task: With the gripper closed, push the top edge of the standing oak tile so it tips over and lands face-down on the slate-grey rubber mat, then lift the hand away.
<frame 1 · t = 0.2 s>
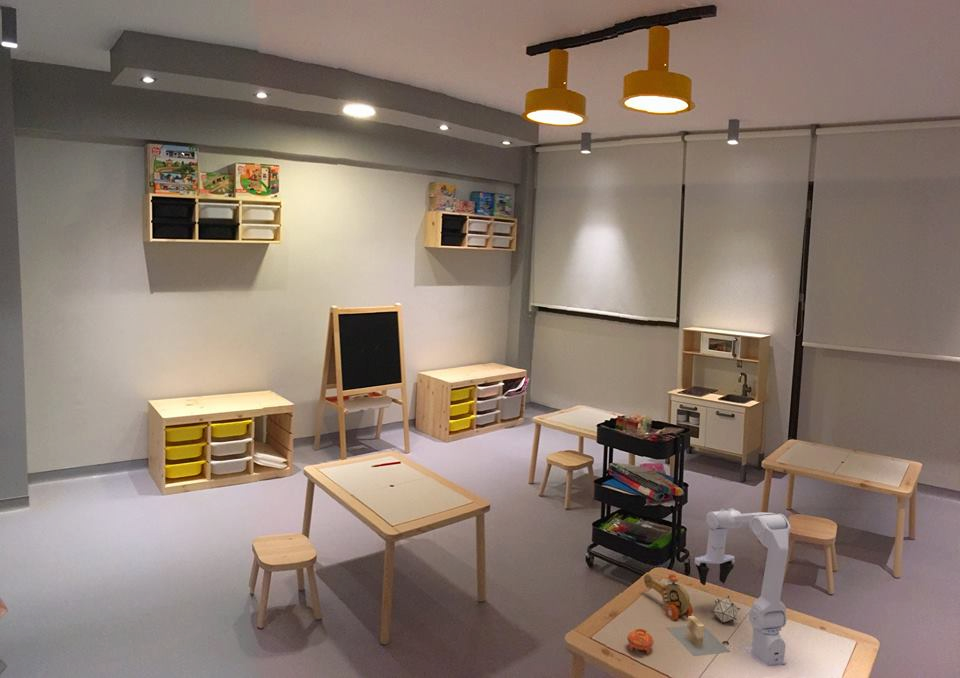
hand: (712, 582, 240), 10 cm above the table, tool pointing down, fingers open, 7 cm apart
rubber mat: (697, 640, 221), on the table
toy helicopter: (666, 609, 240), on the table
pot: (639, 650, 215), on the table
oak tile: (694, 641, 220), resting on rubber mat
game die: (724, 621, 234), on the table
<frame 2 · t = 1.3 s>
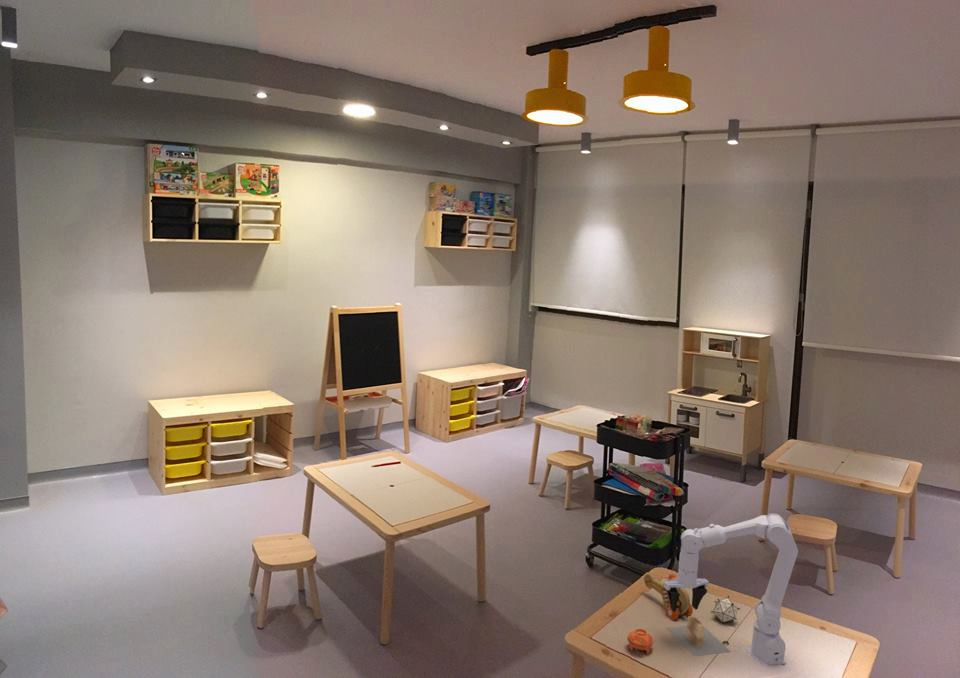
hand: (683, 608, 220), 10 cm above the table, tool pointing down, fingers open, 7 cm apart
nothing on the table moved.
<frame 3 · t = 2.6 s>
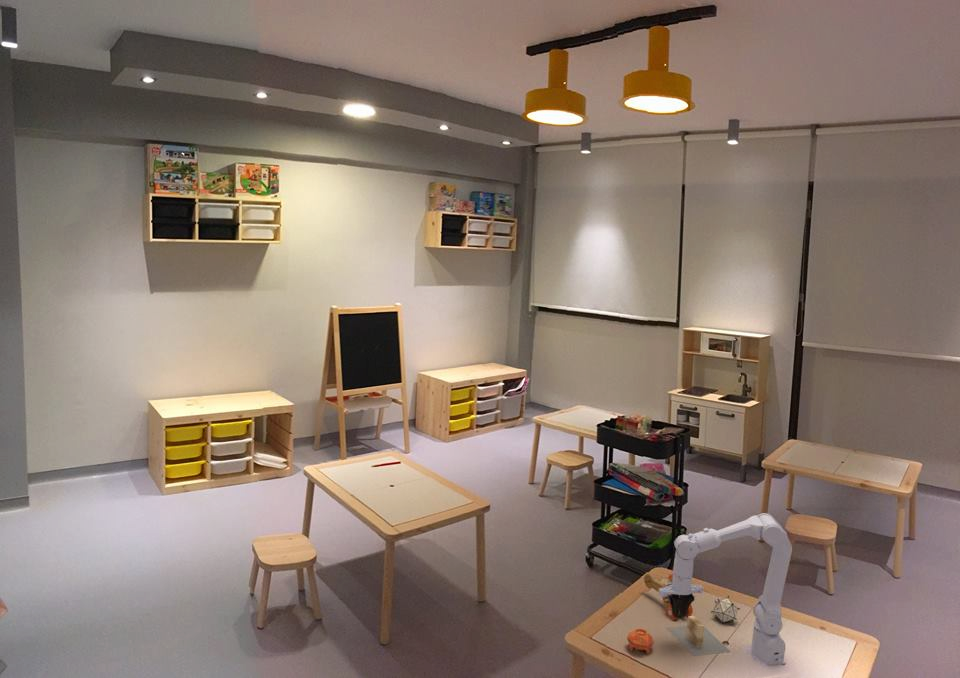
hand: (678, 615, 217), 10 cm above the table, tool pointing down, fingers closed
nothing on the table moved.
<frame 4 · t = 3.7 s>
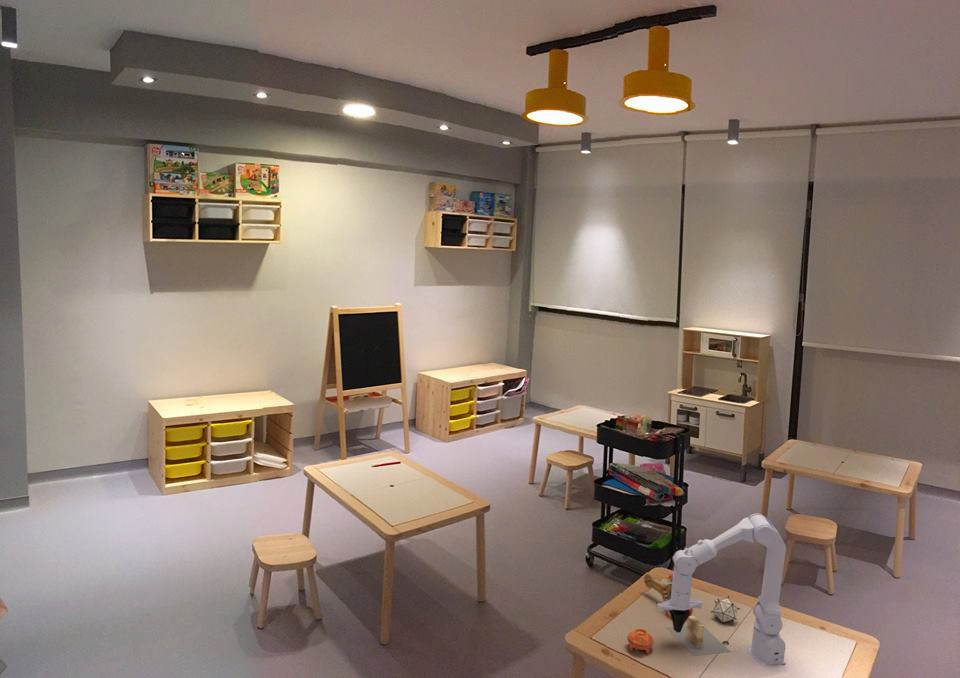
hand: (677, 630, 217), 5 cm above the table, tool pointing down, fingers closed
nothing on the table moved.
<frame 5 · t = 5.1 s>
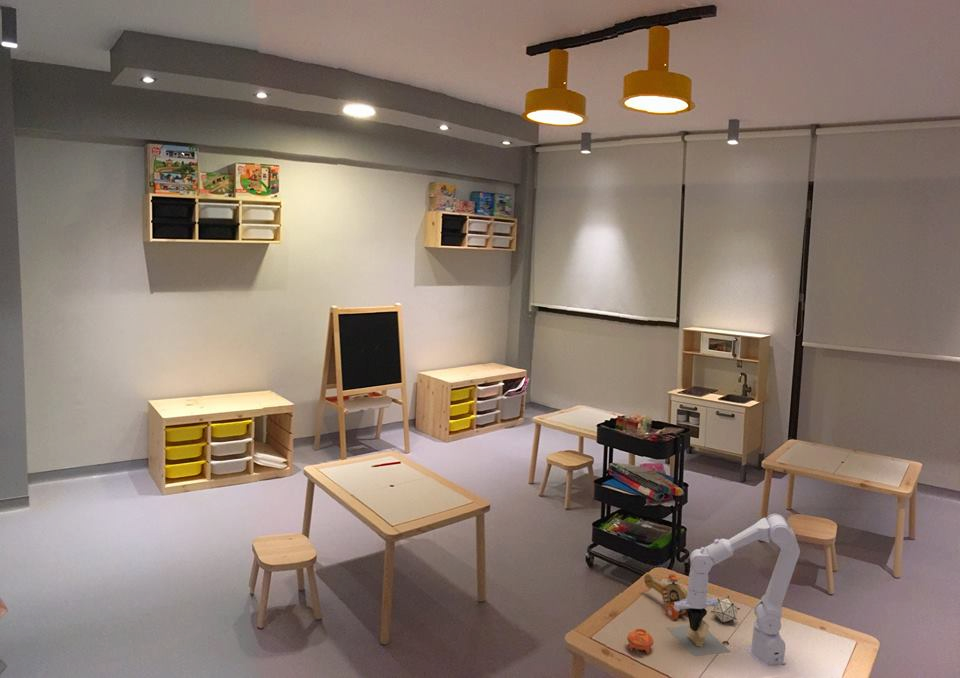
hand: (693, 629, 219), 5 cm above the table, tool pointing down, fingers closed
oak tile: (694, 641, 220), point 1 cm above the table, tilted 15°, touching rubber mat
everything else where it was.
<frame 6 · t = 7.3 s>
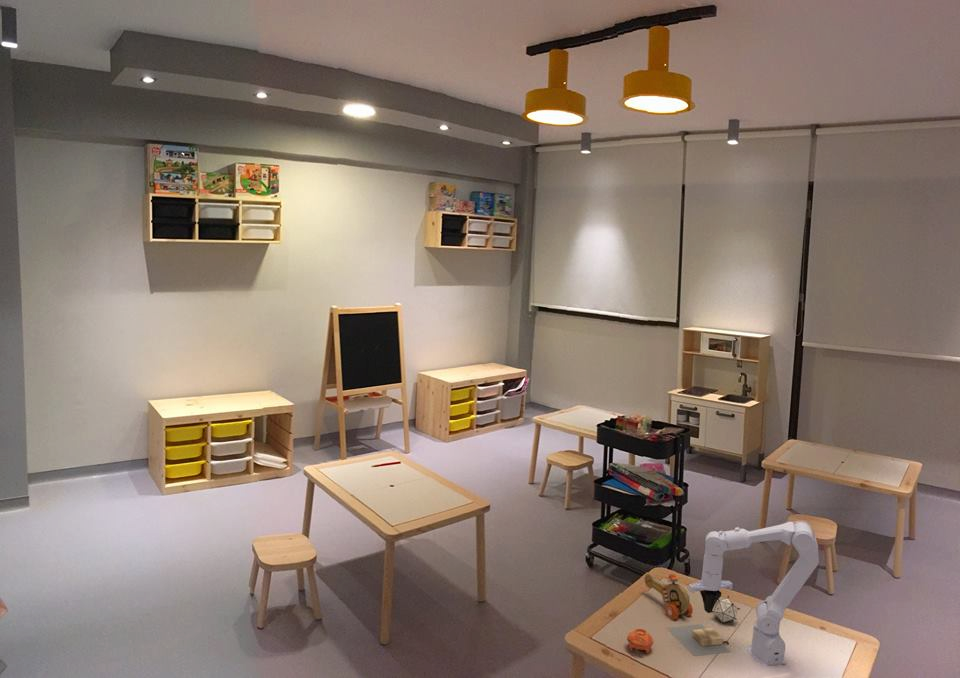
hand: (707, 611, 219), 10 cm above the table, tool pointing down, fingers closed
oak tile: (697, 638, 220), point 2 cm above the table, tilted 90°, touching rubber mat
everything else where it was.
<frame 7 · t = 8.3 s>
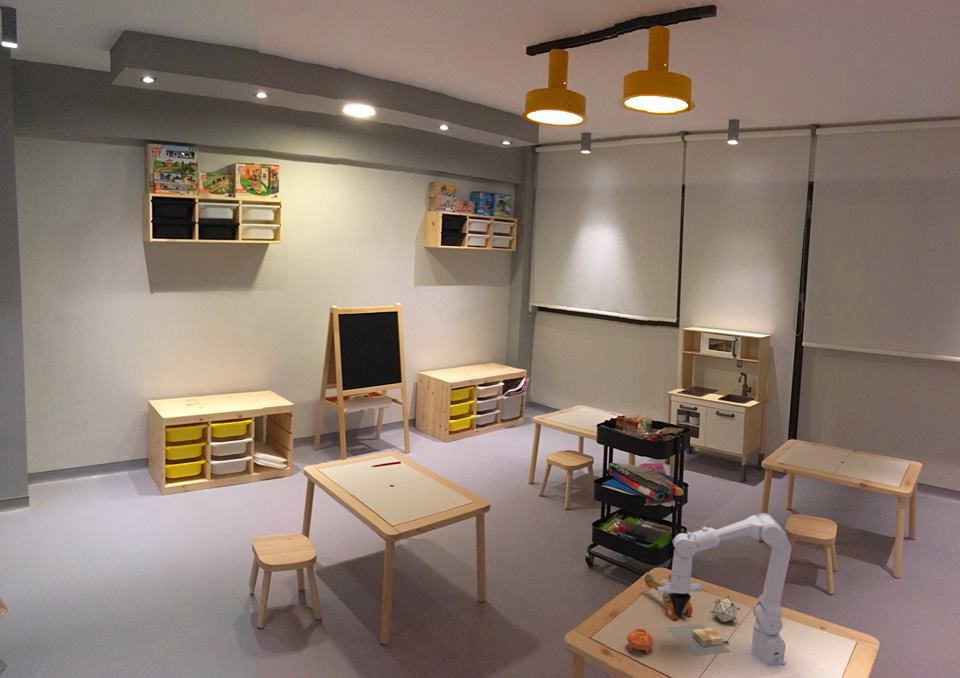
hand: (677, 614, 216), 10 cm above the table, tool pointing down, fingers closed
nothing on the table moved.
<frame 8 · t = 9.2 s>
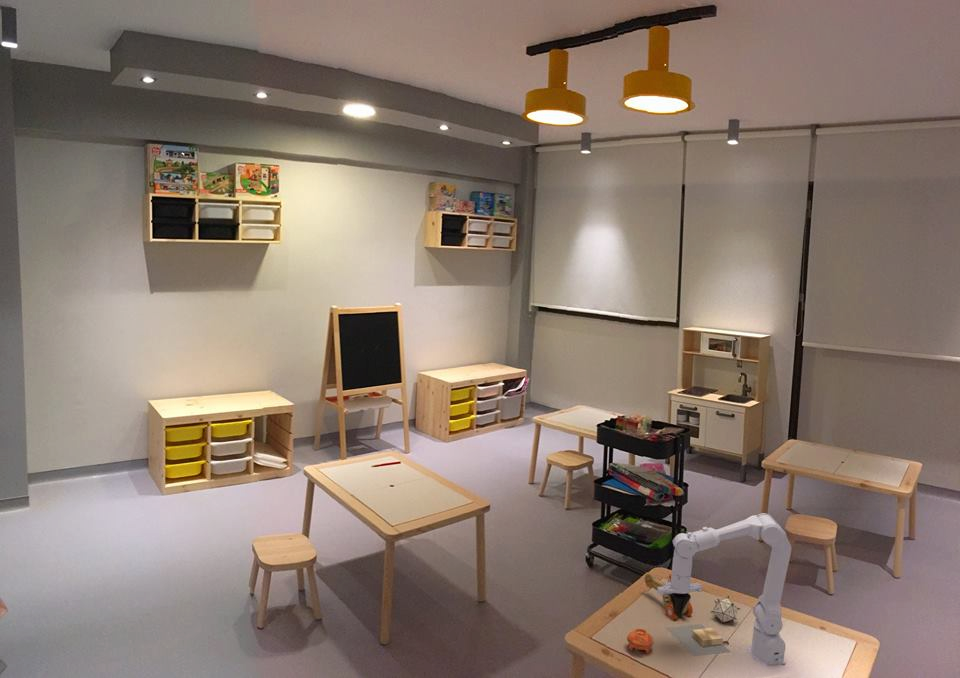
hand: (677, 614, 216), 10 cm above the table, tool pointing down, fingers closed
nothing on the table moved.
at the end: oak tile tilted 90°; oak tile inside the target area (1.1 cm from its centre), point 1.6 cm above the table; oak tile touching rubber mat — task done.
